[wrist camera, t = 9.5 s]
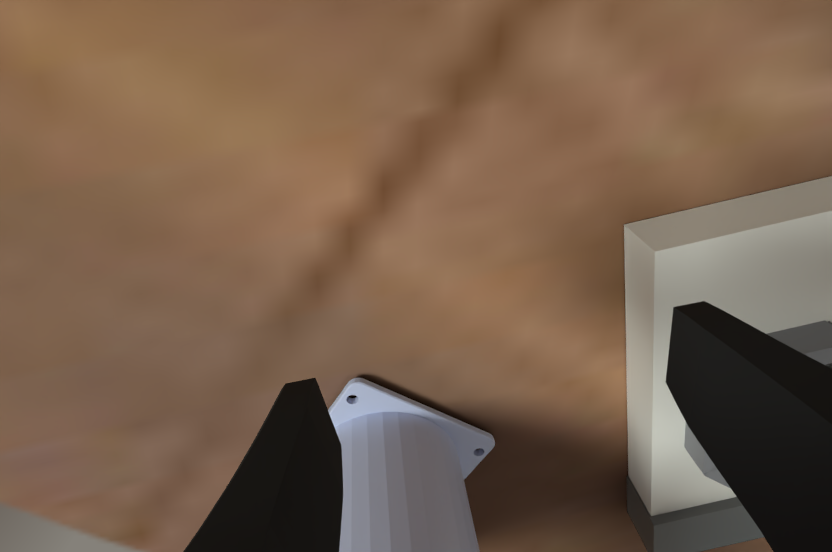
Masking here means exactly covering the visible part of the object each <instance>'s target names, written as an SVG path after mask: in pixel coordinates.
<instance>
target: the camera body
mask: <svg viewBox="0 0 832 552" xmlns="http://www.w3.org/2000/svg"><path fill="white" fill-rule="evenodd" d="M624 252H625V310H626V367H627V425H628V476H627V512H628V514H629V516H630V518H631V520H632V522H633V524H634V526H635V528H636V530H637V532H638V534H639V535H640V537H641V539H642V541H643V543H644V545H645V547H646V549H647V551H648V552H700V551H705V550H709V549H713V548H718V547H722V546H727V545H731V544H736V543H740V542H744V541H749V540H753V539H758V538H762V537H764V536H763V534H762V532H761V531H760V529H759V528H758V526H757V525H756V524H755V522H754V521H753V519H752V518H751V516H750V515H749V514H748V512H747V511H746V509H745V508H744V506H743V505H742V504H741V502H740V501H739V499H738V498H737V496H736V495H735V494H734V492H733V491H732V489H731V488H730V486H729V485H728V483H727V482H726V481H725V479H724V478H723V476H722V475H721V473H720V472H719V471H718V469H717V468H716V466H715V465H714V463H713V462H712V461H711V459H710V458H709V456H708V455H707V453H706V452H705V450H704V449H703V447H702V446H701V444H700V443H699V442H698V440H697V439H696V437H695V436H694V434H693V433H692V431H691V430H690V428H689V427H688V425H687V423H686V421H685V419H684V417H683V415H682V414H681V412H680V410H679V408H678V406H677V404H676V402H675V400H674V398H673V396H672V394H671V392H670V390H669V388H668V386H667V384H666V373H667V364H668V354H669V345H670V335H671V326H672V316H673V307H676V306H681V305H686V304H691V303H696V302H702V301H705V302H708V303H709V304H711V305H713V306H715V307H717V308H719V309H721V310H723V311H725V312H727V313H729V314H731V315H732V316H734V317H736V318H738V319H740V320H742V321H743V322H745V323H747V324H749V325H751V326H753V327H754V328H756V329H758V330H760V331H762V332H764V333H765V334H767V335H769V336H771V337H773V338H775V339H776V340H778V341H780V342H782V343H784V344H786V345H788V346H789V347H791V348H793V349H795V350H797V351H799V352H801V353H803V354H805V355H806V356H808V357H810V358H812V359H814V360H816V361H818V362H820V363H822V364H824V365H825V364H829V363H832V176H830V177H825V178H821V179H817V180H813V181H808V182H804V183H800V184H795V185H791V186H787V187H783V188H778V189H774V190H770V191H765V192H761V193H757V194H753V195H748V196H744V197H740V198H735V199H731V200H727V201H723V202H718V203H714V204H710V205H706V206H701V207H697V208H693V209H688V210H684V211H680V212H676V213H671V214H667V215H663V216H658V217H654V218H650V219H646V220H641V221H637V222H633V223H628V224H624Z"/></svg>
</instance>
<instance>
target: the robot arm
mask: <svg viewBox="0 0 832 552" xmlns="http://www.w3.org/2000/svg"><path fill="white" fill-rule="evenodd" d="M666 384H667V386H668V388H669V390H670V392H671V394H672V396H673V398H674V400H675V402H676V404H677V406H678V408H679V410H680V412H681V414H682V415H683V417H684V419H685V421H686V423H687V425H688V427H689V428H690V430H691V431H692V433H693V434H694V436H695V437H696V439H697V440H698V442H699V443H700V444H701V446H702V447H703V449H704V450H705V452H706V453H707V455H708V456H709V458H710V459H711V461H712V462H713V463H714V465H715V466H716V468H717V469H718V471H719V472H720V473H721V475H722V476H723V478H724V479H725V481H726V482H727V483H728V485H729V486H730V488H731V489H732V491H733V492H734V494H735V495H736V496H737V498H738V499H739V501H740V502H741V504H742V505H743V506H744V508H745V509H746V511H747V512H748V514H749V515H750V516H751V518H752V519H753V521H754V522H755V524H756V525H757V526H758V528H759V529H760V531H761V532H762V534H763V536H764V537H765V539H766V540H767V542H768V543H769V545H770V546H771V548H772V550H773V551H774V552H832V368H830V367H828V366H826V365H824V364H822V363H820V362H818V361H816V360H814V359H812V358H810V357H808V356H806V355H805V354H803V353H801V352H799V351H797V350H795V349H793V348H791V347H789V346H788V345H786V344H784V343H782V342H780V341H778V340H776V339H775V338H773V337H771V336H769V335H767V334H765V333H764V332H762V331H760V330H758V329H756V328H754V327H753V326H751V325H749V324H747V323H745V322H743V321H742V320H740V319H738V318H736V317H734V316H732V315H731V314H729V313H727V312H725V311H723V310H721V309H719V308H717V307H715V306H713V305H711V304H709V303H708V302H705V301H702V302H696V303H691V304H686V305H681V306H676V307H673V316H672V326H671V335H670V345H669V354H668V364H667V373H666ZM350 395H356V396H357V397H356V398H349V397H348V396H350ZM494 446H495V441H494V438H493V436H492V435H491V434H490V433H488V432H485V431H483V430H481V429H479V428H476V427H474V426H472V425H469V424H467V423H465V422H462V421H460V420H458V419H455V418H453V417H451V416H449V415H446V414H444V413H442V412H439V411H437V410H435V409H432V408H430V407H428V406H426V405H423V404H421V403H419V402H416V401H414V400H412V399H409V398H407V397H405V396H403V395H400V394H398V393H396V392H393V391H391V390H389V389H386V388H384V387H382V386H379V385H377V384H375V383H373V382H370V381H368V380H366V379H363V378H354V379H351V380H350V381H349V382H348V383H347V385H346V386H345V387H344V389H343V390H342V392H341V393H340V394H339V396H338V397H337V399H336V400H335V401H334V403H333V404H332V405H331V407H330V408H329V410H328V409H327V407H326V404H325V402H324V399H323V396H322V394H321V391H320V389H319V386H318V383H317V381H316V378H312V379H307V380H302V381H297V382H292V383H286V384H285V385H284V387H283V388H282V390H281V391H280V393H279V395H278V397H277V399H276V401H275V403H274V405H273V406H272V408H271V410H270V412H269V414H268V416H267V418H266V420H265V421H264V423H263V425H262V427H261V429H260V431H259V432H258V434H257V436H256V438H255V440H254V441H253V443H252V445H251V447H250V448H249V450H248V452H247V454H246V455H245V457H244V459H243V460H242V462H241V464H240V466H239V467H238V469H237V471H236V472H235V474H234V476H233V477H232V479H231V481H230V482H229V484H228V486H227V487H226V489H225V490H224V492H223V493H222V495H221V497H220V498H219V500H218V501H217V503H216V504H215V506H214V507H213V509H212V510H211V512H210V514H209V515H208V517H207V518H206V520H205V521H204V523H203V524H202V526H201V527H200V529H199V530H198V532H197V533H196V535H195V536H194V537H193V539H192V540H191V542H190V543H189V545H188V546H187V547H186V549H185V550H184V552H480V551H479V546H478V542H477V537H476V533H475V528H474V524H473V519H472V515H471V510H470V506H469V501H468V496H467V492H466V487H465V483H464V479H465V478H466V477H467V476H468V475H469V474H470V473H471V472H472V471H473V470H474V469H475V467H476V466H477V465H478V464H479V463H480V462H481V461H482V460H483V459H484V458H485V457H486V455H487V454H488V453H489V452H490V451H491V450H492V449H493V448H494ZM479 448H481V449H479ZM476 449H479V450H476Z"/></svg>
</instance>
